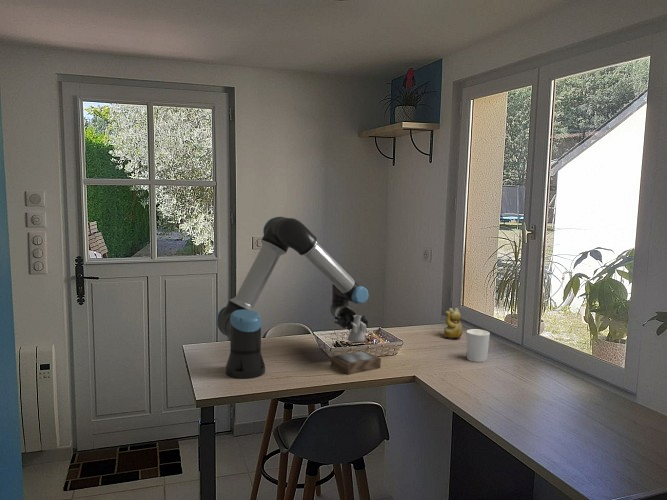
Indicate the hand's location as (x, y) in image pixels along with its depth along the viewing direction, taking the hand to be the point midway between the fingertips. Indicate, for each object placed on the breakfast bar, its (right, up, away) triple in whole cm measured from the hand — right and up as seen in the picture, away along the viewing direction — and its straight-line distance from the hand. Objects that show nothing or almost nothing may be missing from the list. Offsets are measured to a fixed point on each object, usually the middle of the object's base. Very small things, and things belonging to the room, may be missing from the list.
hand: (360, 329), depth 213 cm
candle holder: (+51, -16, +21) cm, 58 cm away
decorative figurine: (+49, -13, +56) cm, 75 cm away
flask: (-1, -6, +6) cm, 8 cm away
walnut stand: (-2, -16, +7) cm, 18 cm away
